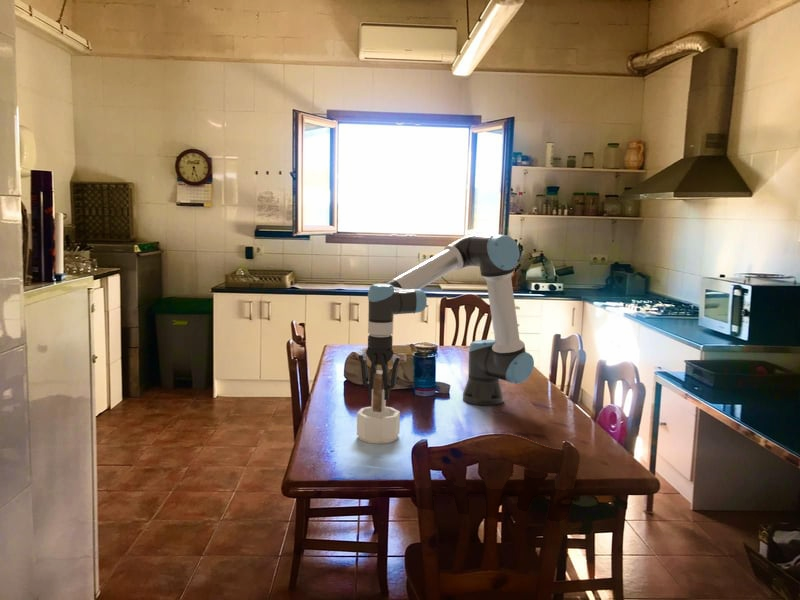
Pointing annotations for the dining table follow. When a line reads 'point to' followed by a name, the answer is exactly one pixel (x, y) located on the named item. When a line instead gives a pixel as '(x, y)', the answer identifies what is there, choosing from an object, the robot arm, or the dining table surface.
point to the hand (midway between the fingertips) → (378, 408)
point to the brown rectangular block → (377, 391)
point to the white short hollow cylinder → (378, 425)
